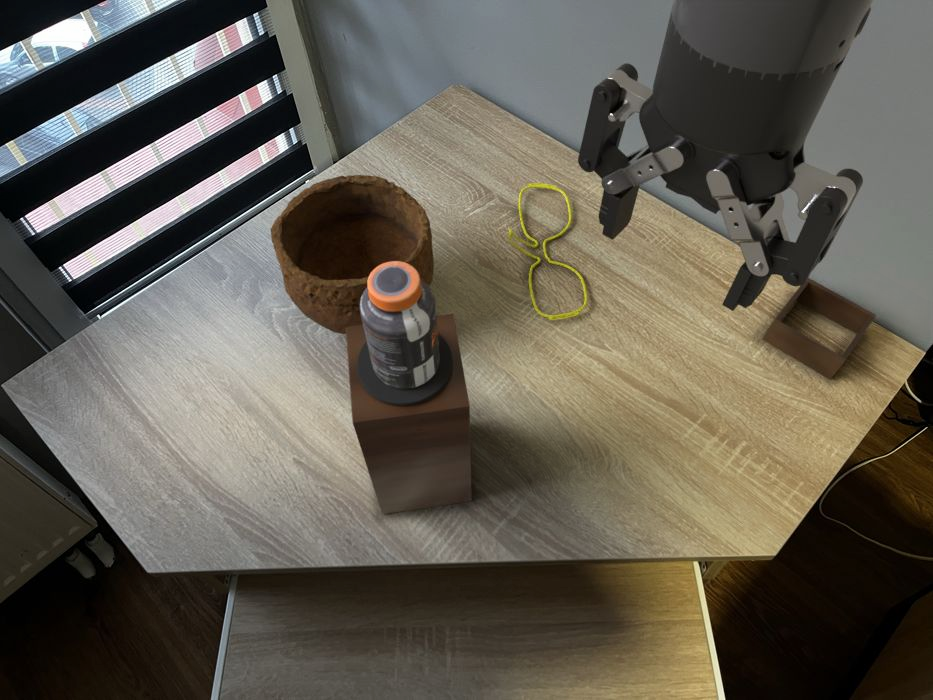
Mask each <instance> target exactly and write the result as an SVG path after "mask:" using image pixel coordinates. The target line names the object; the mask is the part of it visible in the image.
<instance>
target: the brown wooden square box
mask: <svg viewBox="0 0 933 700" xmlns="http://www.w3.org/2000/svg"><path fill="white" fill-rule="evenodd" d="M797 303H801V304H802V305H804V306H805V307H807V308H810V309H812V310H813V311H815V312H816V313H818V314H820V315H822V316H824V317H825V318H827V319H828V320H831V321H833V322H835V324H836V323H837V324H838V325H840V326H841V327H843V328H845V329H847V330H849V331H851V332H852V333H853V334H854V335H853V336H852V338H851V339H850V341H849V342H848V343H847V345H846V346H845V347H844V349H843V351H842V352H841V354H840V355H839V354H837V353H836V352H834V351H833V350H831V349H829V348H827V347H826V346H824V345H822V344H820V343H818V342H817V341H816V340H813V339H812V338H810V337H808V336H806V335H805V334H803V333H802V332H799V331H798V330H796V329H795V328H793V327H791V326H789V325H787V324H786V323H784V322H783V321H784V319H785V318H786V317H787V316H788V314H790V312H791V310H792V309H793V308H794V306H795V305H796V304H797ZM876 317H877V314H876V313H874V312H872V311H870V310H868V309H866V308H865V307H863V306H861V305H859V304H857V303H856V302H853V301H852V300H850V299H849V298H847V297H845V296H843V295H841V294H840V293H837V292H836V291H834V290H832V289H830V288H828V287H826V286H824V285H823V284H821V283H819V282H817V281H815V280H814V279H811V278H809V277H808V279H807V280H806V281H805V282H804V284H803V285H801V286H798V289H797V290H796V291H795V292H794V293H793V295H792V296H791V297H790V298H789V299H788V301H787V303H786V304H785V305H784V306H783V307H782V309H781V310H780V312H779V313H777V315H776V317H775V318H773V320H772V322H771V323H770V325H769V327H768V328H767V330H766V332H765V333H764V335H763V337H762V341H764V342H766V343H768V344H769V345H771V346H772V347H774V348H775V349H778V350H779V351H781V352H783V353H784V354H786V355H787V356H789V357H791V358H793V359H794V360H796V361H798V362H799V363H801V364H803V365H805V366H806V367H808V368H809V369H812V371H814V372H816V373H818V374H819V375H821V376H823V377H825V378H826V379H828V380H831V379H832V378H833V377H834V376H835V374H836V373H837V372H838V371H839V369H840V368H841V367H842V366H843V364H844V363H845V362H846V360H847V359H848V358H849V356H850V354H851V353H852V352H853V350H854V349H855V347H856V346H857V345H858V343H859V341H860V340H861V338H862V337H863V335H864V334H865V333H866V331H867V330H868V328H869V327H870V326H871V324H872V322H873V321H874V319H876Z"/></svg>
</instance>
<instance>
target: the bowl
mask: <svg viewBox="0 0 933 700" xmlns="http://www.w3.org/2000/svg"><path fill="white" fill-rule="evenodd" d="M430 221H431V220H430V219H429V217H428V215H427V212H426V209H425V208H424V207H423V206H422V205H421V204H420V203H419V202H418V200H417V199H416V198H415V197H413V196H412V195H411V194H410V193H409V192H407V191H406V190H405V189H404V188H403V187H401V186H398V185H396V184H395V182H394V181H388V179H387V178H384V177H381V176H377V175H369V174H367V175H364V174H363V175H362V174H354V175H353V174H351V175H346V176H345V175H339V176H335V177H332V178H327V179H324V180H321V181H319V182H316V183H312V184H311V185H310V186H309V187H308V188H304V189H303V190H302V191H300V193H298V194H297V195H296V196H293V197H292V198H291V200H290V201H288V203H287V206H286V208H285V209H283V210H282V212H281V214H280V215H278V216H277V217H276V218H275V220H274V222H273V224H272V225H271V227H270V238H271V243H272V244H273V245H272V246H273V249H274V252H275V256H276V260H277V261H278V262H277V263H278V264H279V267H280V270H281V273H282V279H283V285H284V290H285V292H286V294H287V295H288V296H289V298H290V300H291V302H292V303H293V304H294V305H295V306H296V307H297V308H298V309H299V311H300V312H301V313H302V314H303V315H304V316H305V317H306V318H308V319H309V320H311V321H312V322H314V323H316V324H318V325H319V326H321V327H323V328H325V329H327V330H329V331H331V332H333V333H335V334H344V335H346V327H351V326H359V325H363V323H362V319H361V314H360V300H361V297H362V294H363V292H364V291H365V289H366V288H367V287H368V286H367V281H368V277H369V275H370V273H371V272H372V271H373V270H374V269H375V268H376V267H377V266H379V265H381V264H383V263H386V262H391V261H401V262H405V263H408V264H410V265H411V266H413V267H414V268H415V269H416V270H417V271H418V273H419V275H420V279H421V280H423V281H424V282H425V283H426V284H427V285H428V286H429V288H431V286H432V285H431V284H432V282H433V279H434V271H435V259H434V251H433V233H432V228H431V222H430Z"/></svg>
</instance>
